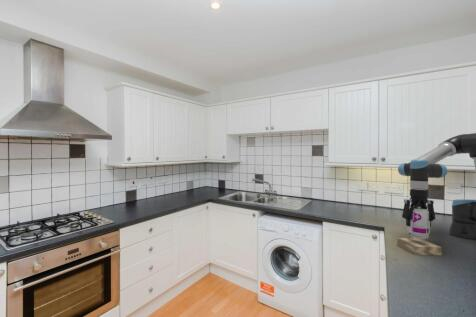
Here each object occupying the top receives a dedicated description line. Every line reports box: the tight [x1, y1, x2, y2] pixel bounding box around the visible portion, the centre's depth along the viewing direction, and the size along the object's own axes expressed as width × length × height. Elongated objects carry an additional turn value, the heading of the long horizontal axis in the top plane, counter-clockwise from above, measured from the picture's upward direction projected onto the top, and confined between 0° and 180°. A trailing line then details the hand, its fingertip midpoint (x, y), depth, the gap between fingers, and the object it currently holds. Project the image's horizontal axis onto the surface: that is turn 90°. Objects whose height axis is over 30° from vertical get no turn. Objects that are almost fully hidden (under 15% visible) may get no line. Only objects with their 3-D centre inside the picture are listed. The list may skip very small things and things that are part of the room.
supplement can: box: [408, 207, 430, 240], centre depth 120 cm, size 8×8×15 cm
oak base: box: [396, 237, 443, 256], centre depth 120 cm, size 13×13×4 cm
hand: (418, 232), depth 120 cm, fingers closed on supplement can, 8 cm apart
